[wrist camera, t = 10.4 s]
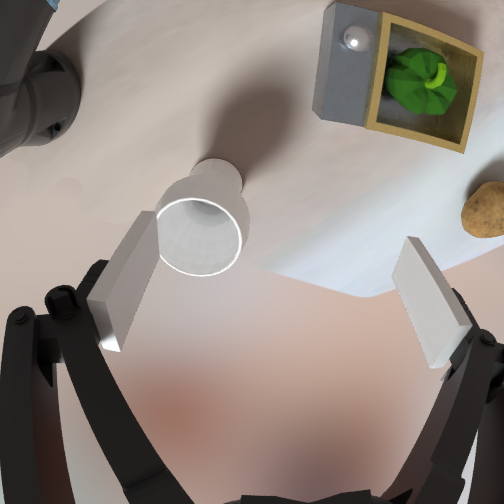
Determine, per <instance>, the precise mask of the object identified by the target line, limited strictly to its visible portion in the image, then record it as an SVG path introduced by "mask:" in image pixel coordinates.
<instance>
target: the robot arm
mask: <svg viewBox="0 0 504 504" xmlns="http://www.w3.org/2000/svg"><path fill="white" fill-rule="evenodd" d="M59 1H60V0H0V158H1V157H2V156H4V155H5V154H7V153H9V152H10V151H12V150H14V149H15V148H17V147H22V146H41V145H44V144H47V143H50V142H51V141H53V140H55V139H57V138H59V137H60V136H61V135H63V134H64V133H65V132H66V131H67V130H68V128H69V127H70V126H71V124H72V123H73V121H74V119H75V117H76V114H77V111H78V107H79V102H80V83H79V78H78V75H77V72H76V70H75V68H74V66H73V64H72V63H71V62H70V60H69V59H68V58H67V57H65V56H64V55H63V54H61V53H59V52H57V51H53V50H43V51H36V49H37V46H38V44H39V42H40V40H41V37H42V35H43V33H44V31H45V29H46V27H47V25H48V23H49V21H50V19H51V17H52V15H53V13H54V12H56V10H57V8H58V6H57V5H58V3H59ZM35 51H36V52H35ZM159 257H160V253H159V242H158V229H157V215H156V212H154V211H142V212H141V213H140V215H139V216H138V217H137V219H136V220H135V222H134V223H133V225H132V226H131V228H130V229H129V231H128V232H127V234H126V235H125V237H124V238H123V240H122V242H121V243H120V245H119V246H118V248H117V249H116V251H115V252H114V254H113V256H112V257H111V259H110V260H99V261H97V262H96V263H95V264H93V265H92V266H91V267H90V269H89V271H88V272H87V274H86V275H85V277H84V278H83V281H81V283H80V284H79V286H78V288H77V290H75V289H74V288H73V287H72V286H69V285H61V286H57V287H55V288H53V289H51V290H50V291H49V292H48V293H47V295H46V297H45V305H46V307H47V309H48V312H49V314H45V315H36V314H35V312H34V311H33V309H32V308H31V307H28V306H21V307H19V308H16V309H15V310H13V311H12V312H11V313H10V315H9V316H8V319H7V324H6V330H5V336H4V344H3V353H2V362H1V372H0V467H1V477H2V486H3V494H4V500H5V504H75V500H74V496H73V492H72V487H71V483H70V478H69V473H68V468H67V462H66V456H65V451H64V444H63V437H62V430H61V422H60V413H59V402H58V389H57V371H56V363H65V364H66V367H67V370H68V372H69V375H70V378H71V381H72V383H73V386H74V388H75V391H76V393H77V396H78V398H79V401H80V403H81V406H82V408H83V410H84V413H85V415H86V417H87V419H88V422H89V424H90V426H91V428H92V430H93V433H94V434H95V437H96V439H97V441H98V443H99V445H100V447H101V449H102V451H103V453H104V455H105V456H106V458H107V460H108V462H109V464H110V465H111V468H112V469H113V471H114V473H115V475H116V477H117V478H118V480H119V482H120V483H121V486H122V488H123V492H124V494H125V496H126V498H127V500H128V502H129V503H130V504H194V502H193V501H192V500H191V499H190V497H189V496H188V495H187V493H186V492H185V491H184V489H183V488H182V487H181V485H180V484H179V482H178V481H177V480H176V478H175V477H174V476H173V474H172V473H171V472H170V470H169V469H168V468H167V467H166V465H165V464H164V463H163V461H162V460H161V458H160V457H159V455H158V454H157V452H156V451H155V449H154V448H153V446H152V444H151V443H150V441H149V440H148V438H147V436H146V435H145V433H144V432H143V430H142V428H141V427H140V425H139V423H138V422H137V420H136V418H135V416H134V415H133V413H132V412H131V409H130V408H129V406H128V404H127V402H126V400H125V399H124V397H123V395H122V393H121V391H120V389H119V388H118V386H117V384H116V382H115V380H114V378H113V376H112V374H111V372H110V370H109V368H108V366H107V364H106V362H105V359H104V357H103V355H102V353H101V351H100V349H99V347H98V344H99V342H100V340H101V343H102V345H103V348H104V349H107V350H113V351H118V352H121V350H122V347H123V344H124V342H125V339H126V336H127V334H128V331H129V328H130V326H131V324H132V321H133V319H134V316H135V313H136V311H137V309H138V306H139V304H140V302H141V299H142V297H143V294H144V292H145V289H146V287H147V285H148V283H149V280H150V278H151V276H152V273H153V271H154V269H155V267H156V264H157V262H158V260H159ZM391 277H392V279H393V281H394V283H395V285H396V288H397V290H398V292H399V294H400V296H401V299H402V301H403V303H404V305H405V308H406V310H407V312H408V315H409V317H410V319H411V322H412V324H413V327H414V329H415V331H416V334H417V336H418V338H419V341H420V344H421V346H422V349H423V352H424V354H425V357H426V359H427V362H428V365H429V367H430V368H431V369H432V368H442V367H443V366H444V365H445V364H446V363H447V361H448V360H449V359H450V361H451V364H452V365H451V367H450V368H449V369H448V371H447V372H446V373H445V374H444V376H443V377H442V378H441V381H442V380H443V379H444V378H445V379H444V382H443V384H442V387H441V389H440V392H439V394H438V397H437V399H436V401H435V403H434V406H433V408H432V410H431V412H430V415H429V417H428V419H427V421H426V423H425V425H424V427H423V430H422V431H421V433H420V435H419V437H418V439H417V441H416V443H415V445H414V447H413V449H412V451H411V452H410V454H409V456H408V458H407V460H406V462H405V463H404V465H403V467H402V469H401V470H400V472H399V474H398V476H397V477H396V479H395V480H394V482H393V483H392V485H391V486H390V487H389V488H388V489H387V490H386V491H385V492H384V493H383V494H382V496H381V497H377V496H372V495H371V492H370V490H362V491H354V492H346V493H340V494H337V495H334V496H331V497H328V498H324V499H321V500H318V501H315V502H311V503H306V502H300V501H295V500H291V499H286V498H281V497H277V496H251V495H242V496H241V499H240V500H236V501H231V502H227V503H224V504H457V502H458V500H459V498H460V496H461V493H462V491H463V489H464V485H465V479H463V478H461V475H462V472H463V469H464V466H465V464H466V461H467V459H468V456H469V453H470V451H471V447H472V445H473V442H474V439H475V436H476V433H477V430H478V437H477V447H476V456H475V463H474V470H473V477H472V483H471V488H470V493H469V499H468V503H467V504H504V344H500V343H497V341H496V339H495V337H494V336H493V335H492V334H491V333H490V332H489V331H487V330H484V329H480V328H479V326H478V324H477V322H476V320H475V318H474V317H473V315H472V313H471V312H470V310H469V308H468V306H467V305H466V304H465V301H464V300H463V298H462V296H461V295H460V294H459V293H458V292H457V291H456V290H455V289H454V288H451V287H450V285H449V284H448V282H447V280H446V279H445V277H444V276H443V274H442V272H441V271H440V269H439V268H438V266H437V265H436V263H435V262H434V260H433V259H432V257H431V256H430V254H429V253H428V251H427V250H426V248H425V247H424V245H423V244H422V242H421V241H420V239H419V238H417V237H409V236H407V237H406V240H405V243H404V245H403V248H402V251H401V254H400V256H399V259H398V261H397V264H396V266H395V269H394V272H393V274H392V276H391Z"/></svg>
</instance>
